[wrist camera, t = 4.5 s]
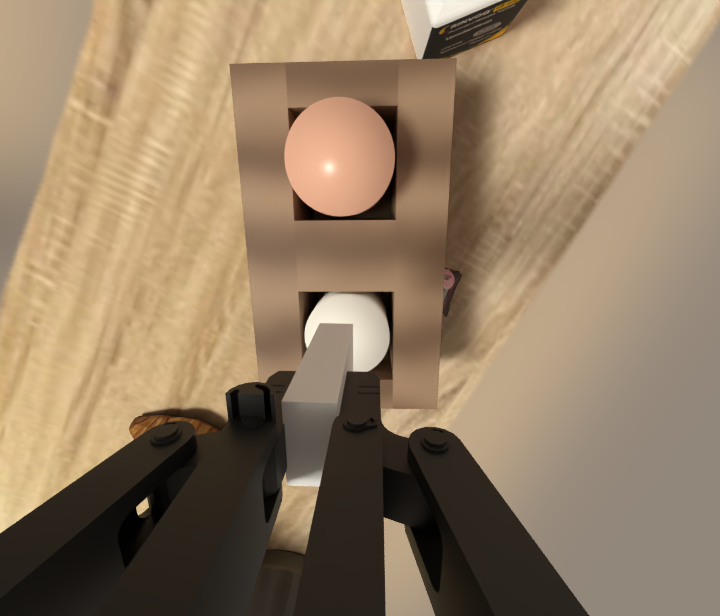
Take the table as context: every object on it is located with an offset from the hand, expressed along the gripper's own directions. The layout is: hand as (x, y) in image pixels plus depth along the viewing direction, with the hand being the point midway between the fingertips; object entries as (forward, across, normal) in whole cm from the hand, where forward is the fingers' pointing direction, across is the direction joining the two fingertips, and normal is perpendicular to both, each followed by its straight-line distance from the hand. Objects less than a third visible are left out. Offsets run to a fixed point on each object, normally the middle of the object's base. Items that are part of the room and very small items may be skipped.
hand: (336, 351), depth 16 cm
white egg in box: (+18, 0, +3) cm, 18 cm away
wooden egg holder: (+19, 0, -3) cm, 19 cm away
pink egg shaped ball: (+15, +1, -9) cm, 18 cm away
